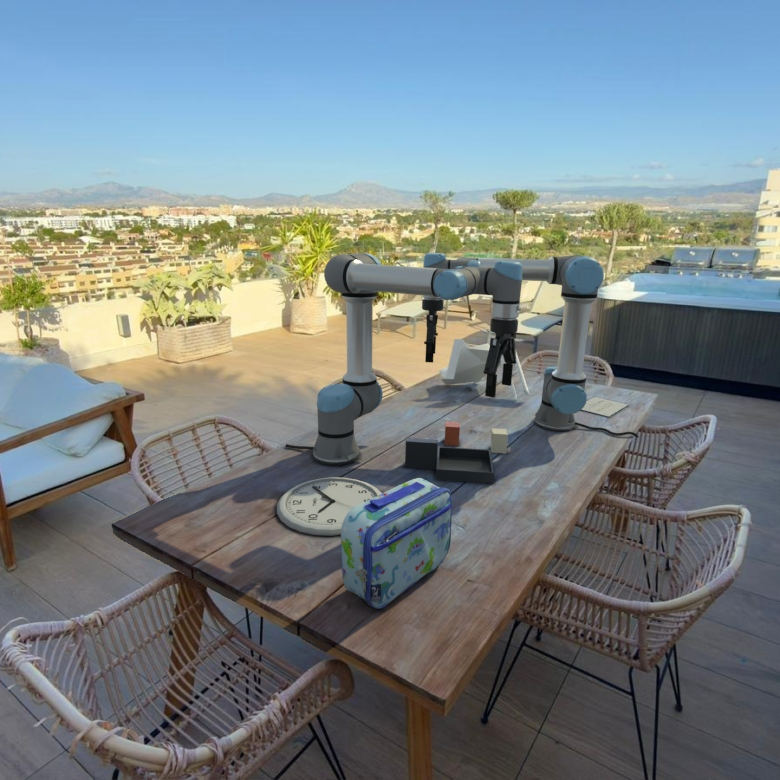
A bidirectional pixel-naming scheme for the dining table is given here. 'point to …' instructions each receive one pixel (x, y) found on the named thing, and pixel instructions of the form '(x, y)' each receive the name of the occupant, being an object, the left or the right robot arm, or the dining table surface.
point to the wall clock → (323, 504)
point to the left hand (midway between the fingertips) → (498, 390)
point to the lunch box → (395, 540)
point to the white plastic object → (474, 366)
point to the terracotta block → (452, 433)
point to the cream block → (498, 440)
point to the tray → (450, 461)
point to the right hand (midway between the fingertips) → (430, 357)
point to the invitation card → (603, 406)
